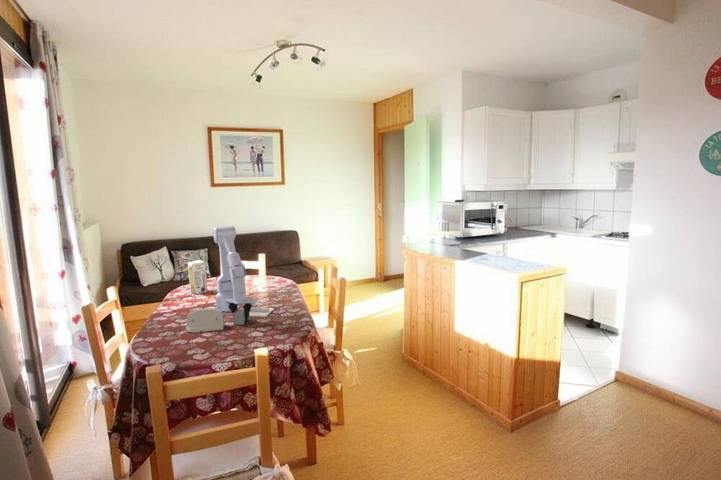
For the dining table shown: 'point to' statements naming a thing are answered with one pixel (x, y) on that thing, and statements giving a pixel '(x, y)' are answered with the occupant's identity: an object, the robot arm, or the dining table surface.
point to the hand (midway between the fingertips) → (241, 318)
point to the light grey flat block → (205, 320)
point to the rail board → (260, 312)
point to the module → (239, 317)
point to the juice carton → (197, 277)
